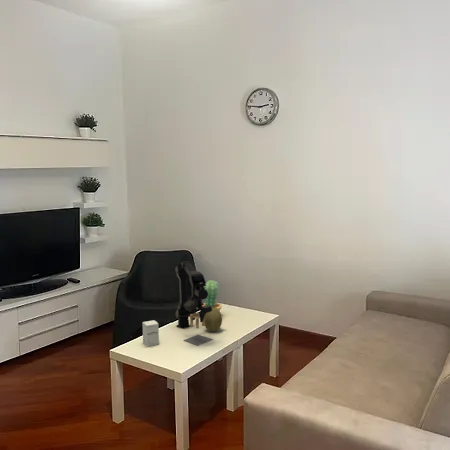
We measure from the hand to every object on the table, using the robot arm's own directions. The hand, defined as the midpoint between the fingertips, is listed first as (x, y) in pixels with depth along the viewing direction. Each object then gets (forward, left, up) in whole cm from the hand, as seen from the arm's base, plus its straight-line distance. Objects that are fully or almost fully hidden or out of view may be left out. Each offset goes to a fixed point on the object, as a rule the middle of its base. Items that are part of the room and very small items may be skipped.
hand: (197, 321), depth 274 cm
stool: (0, 0, -3) cm, 3 cm away
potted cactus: (-23, +35, -12) cm, 43 cm away
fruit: (-4, +17, -12) cm, 21 cm away
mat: (0, 0, -12) cm, 12 cm away
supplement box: (-17, -21, -12) cm, 29 cm away
